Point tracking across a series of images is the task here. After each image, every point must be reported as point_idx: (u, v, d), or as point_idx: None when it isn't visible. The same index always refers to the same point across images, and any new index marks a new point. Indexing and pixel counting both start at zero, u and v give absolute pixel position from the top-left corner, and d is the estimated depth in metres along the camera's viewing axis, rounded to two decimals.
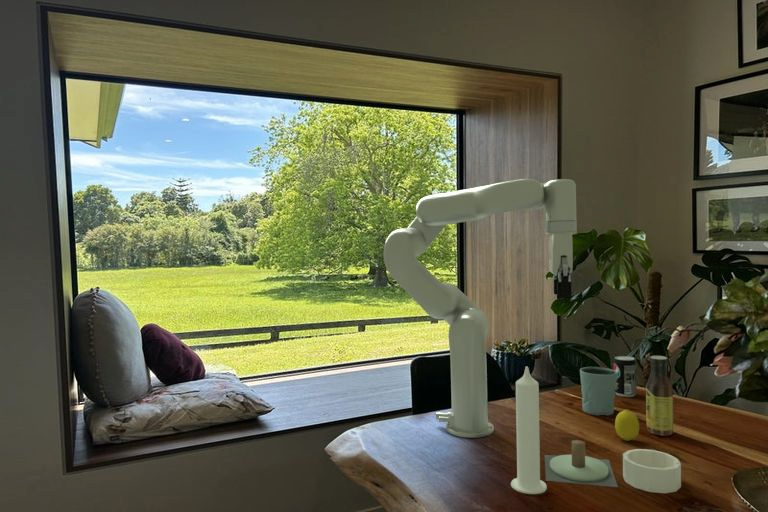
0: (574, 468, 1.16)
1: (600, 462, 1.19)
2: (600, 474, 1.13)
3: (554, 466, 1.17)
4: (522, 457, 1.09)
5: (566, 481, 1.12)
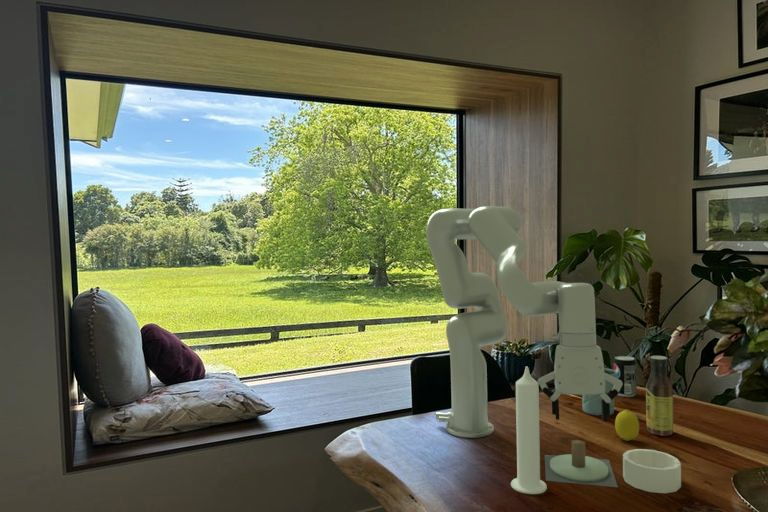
0: (574, 468, 1.16)
1: (600, 462, 1.19)
2: (600, 474, 1.13)
3: (554, 466, 1.17)
4: (522, 457, 1.09)
5: (566, 481, 1.12)
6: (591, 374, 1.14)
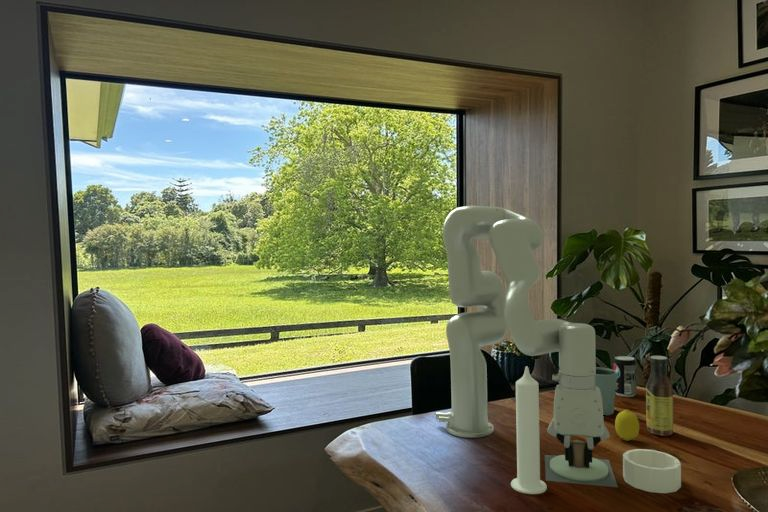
0: (575, 468, 1.16)
1: (600, 462, 1.19)
2: (600, 474, 1.13)
3: (554, 466, 1.17)
4: (522, 457, 1.09)
5: (566, 481, 1.12)
6: (590, 416, 1.14)
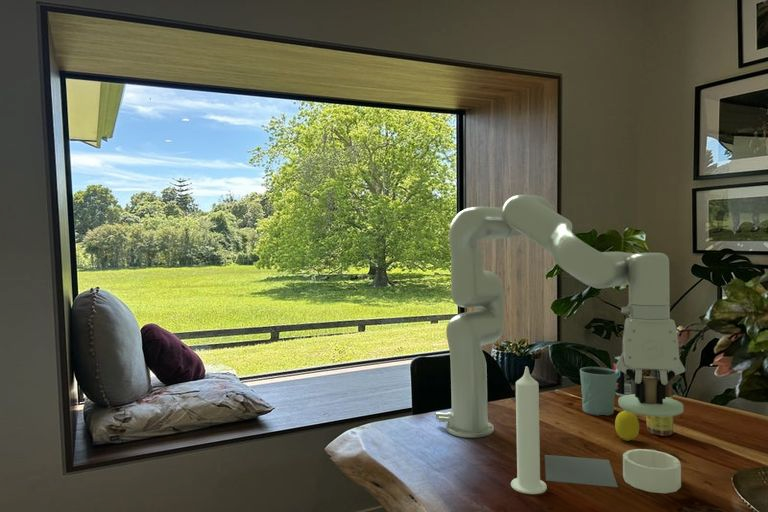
0: (647, 404, 1.09)
1: (672, 399, 1.12)
2: (676, 409, 1.06)
3: (624, 403, 1.11)
4: (522, 457, 1.09)
5: (566, 481, 1.12)
6: (664, 348, 1.08)
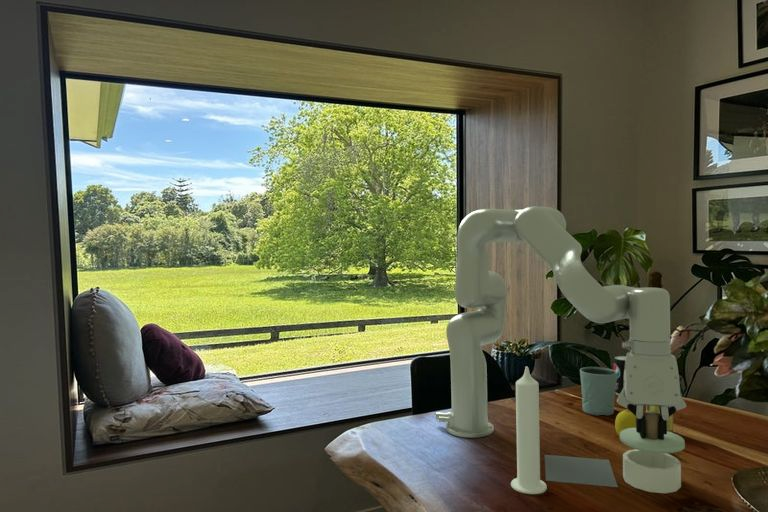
0: (648, 440, 1.09)
1: (673, 434, 1.12)
2: (678, 445, 1.06)
3: (625, 438, 1.11)
4: (522, 457, 1.09)
5: (566, 481, 1.12)
6: (666, 384, 1.08)
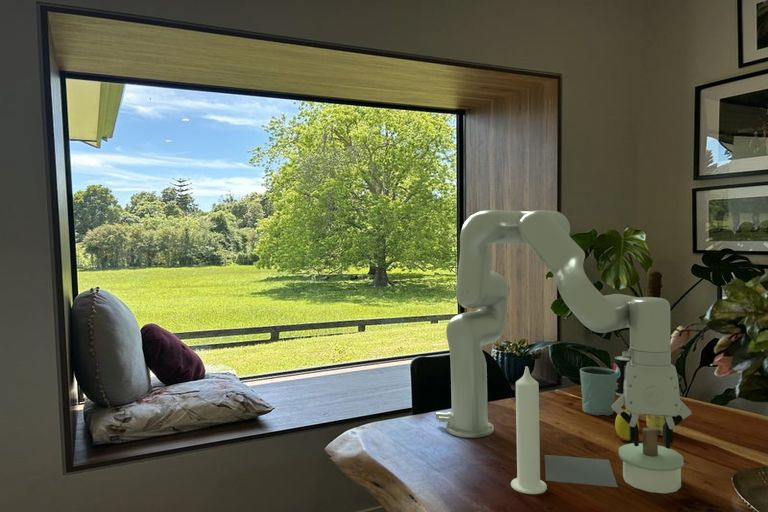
0: (647, 457, 1.10)
1: (672, 451, 1.13)
2: (676, 463, 1.07)
3: (624, 455, 1.11)
4: (522, 457, 1.09)
5: (566, 481, 1.12)
6: (665, 394, 1.08)
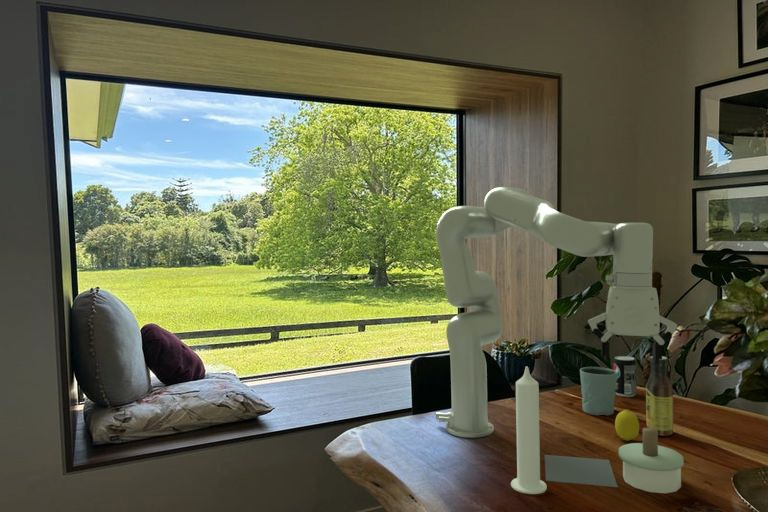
0: (647, 457, 1.10)
1: (672, 451, 1.13)
2: (676, 463, 1.07)
3: (624, 455, 1.11)
4: (522, 457, 1.09)
5: (566, 481, 1.12)
6: (646, 315, 1.11)
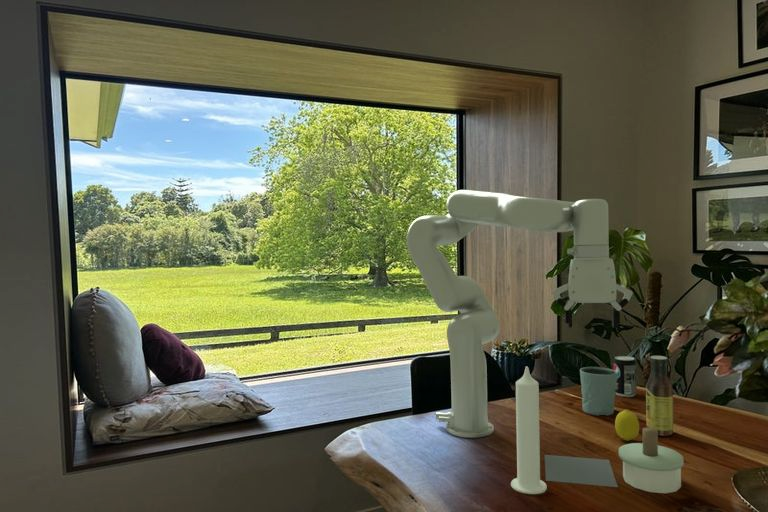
0: (647, 457, 1.10)
1: (672, 451, 1.13)
2: (676, 463, 1.07)
3: (624, 455, 1.11)
4: (522, 457, 1.09)
5: (566, 481, 1.12)
6: (603, 283, 1.21)
